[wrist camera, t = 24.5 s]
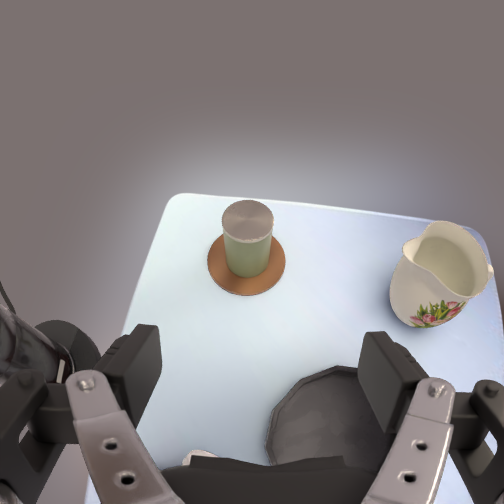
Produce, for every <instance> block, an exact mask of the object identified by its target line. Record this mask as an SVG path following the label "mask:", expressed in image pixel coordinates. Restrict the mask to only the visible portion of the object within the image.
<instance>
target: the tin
mask: <svg viewBox="0 0 504 504" xmlns="http://www.w3.org/2000/svg"><path fill="white" fill-rule="evenodd" d="M273 225H274V217H273V214H272V212H271V211H270V209H269V208H268V207H267V206H265V205H264V204H262V203H260V202H257V201H253V200H242V201H238V202H235V203H233V204H232V205H230V206H229V207H228V208H227V209H226V210H225V212H224V213H223V216H222V226H223V234H224V244H225V255H226V263H227V266H228V268H229V269H230V270H231V271H232V272H233V273H234V274H236V275H237V276H240V277H245V278H250V277H255V276H257V275H259V274H261V273H262V272H263V271H264V270H265V269H266V268H267V266H268V262H269V254H270V246H271V238H272V230H273Z"/></svg>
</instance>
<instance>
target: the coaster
mask: <svg viewBox="0 0 504 504" xmlns="http://www.w3.org/2000/svg"><path fill="white" fill-rule="evenodd" d="M207 261H208V269H209V272H210V275H211V276H212V278H213V280H214V281H215V282H216V283H217V284H218V285H219V286H220V287H221V288H223V289H224V290H226V291H228V292H230V293H233V294H237V295H245V296H249V295H256V294H260V293H263V292H265V291H267V290H269V289H270V288H272V287H273V286H274V285H275V284H276V283H277V282H278V281H279V279H280V278H281V276H282V274H283V272H284V268H285V254H284V251H283V249H282V247H281V245H280V244H279V242H278V241H277V240H276V239H275V238H274V237H273V236H272V238H271V246H270V254H269V262H268V266H267V268H266V269H265V270H264V271H263V272H262V273H261V274H259V275H257V276H255V277H250V278H245V277H240V276H237V275H236V274H234V273H233V272H232V271H231V270H230V269H229V268H228V266H227V263H226V255H225V244H224V234H222V235H221V236H220V237H219V238H218V239H216V241H215V242H214V243H213V244H212V246H211V248H210V250H209V253H208V260H207Z"/></svg>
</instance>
